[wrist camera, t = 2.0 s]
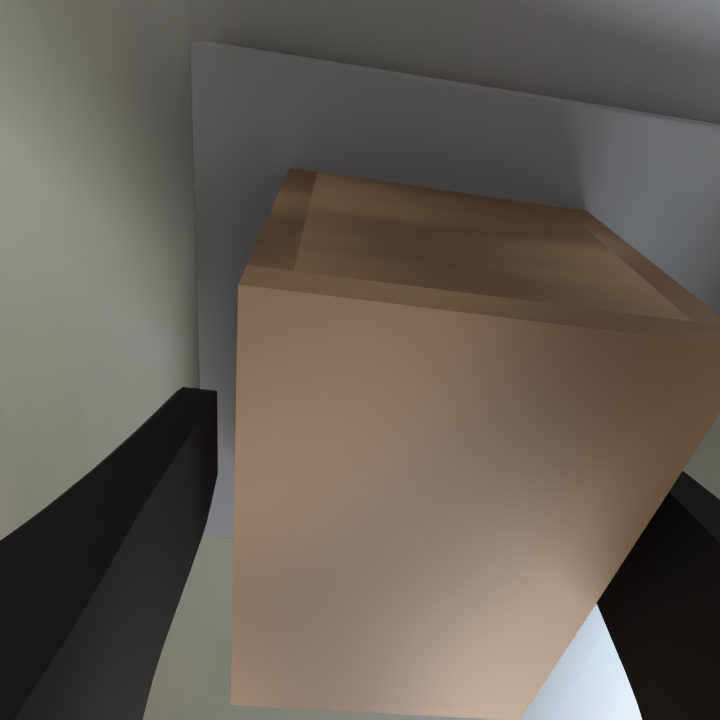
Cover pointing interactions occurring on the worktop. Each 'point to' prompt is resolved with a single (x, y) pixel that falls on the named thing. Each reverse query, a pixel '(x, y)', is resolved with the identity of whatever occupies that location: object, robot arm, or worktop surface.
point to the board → (423, 175)
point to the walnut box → (445, 441)
